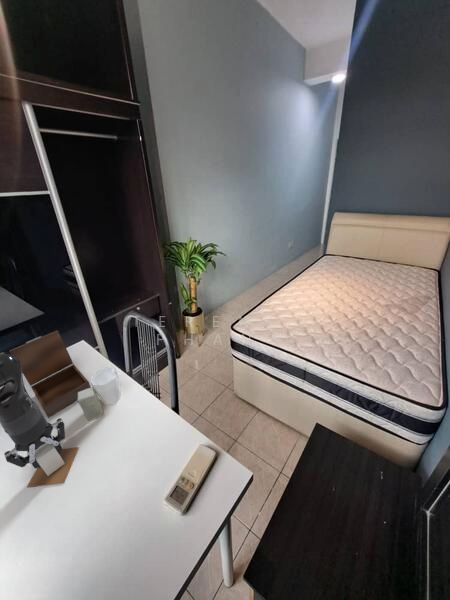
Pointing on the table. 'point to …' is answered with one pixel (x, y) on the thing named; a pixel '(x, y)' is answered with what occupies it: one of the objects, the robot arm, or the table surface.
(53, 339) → the lid
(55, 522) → the table surface
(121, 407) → the table surface
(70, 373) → the chest
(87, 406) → the box
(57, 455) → the light grey block
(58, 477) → the pad
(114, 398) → the cup
